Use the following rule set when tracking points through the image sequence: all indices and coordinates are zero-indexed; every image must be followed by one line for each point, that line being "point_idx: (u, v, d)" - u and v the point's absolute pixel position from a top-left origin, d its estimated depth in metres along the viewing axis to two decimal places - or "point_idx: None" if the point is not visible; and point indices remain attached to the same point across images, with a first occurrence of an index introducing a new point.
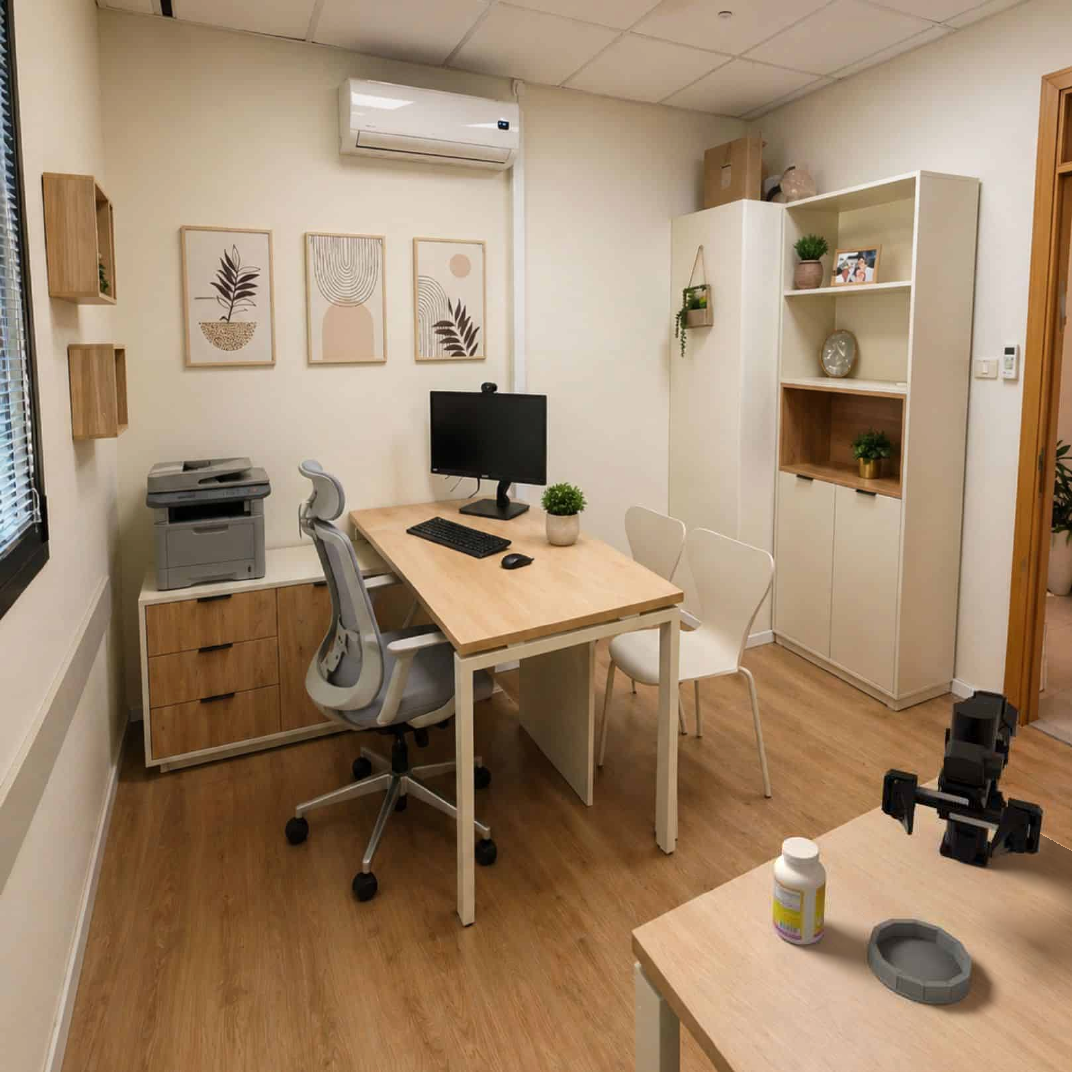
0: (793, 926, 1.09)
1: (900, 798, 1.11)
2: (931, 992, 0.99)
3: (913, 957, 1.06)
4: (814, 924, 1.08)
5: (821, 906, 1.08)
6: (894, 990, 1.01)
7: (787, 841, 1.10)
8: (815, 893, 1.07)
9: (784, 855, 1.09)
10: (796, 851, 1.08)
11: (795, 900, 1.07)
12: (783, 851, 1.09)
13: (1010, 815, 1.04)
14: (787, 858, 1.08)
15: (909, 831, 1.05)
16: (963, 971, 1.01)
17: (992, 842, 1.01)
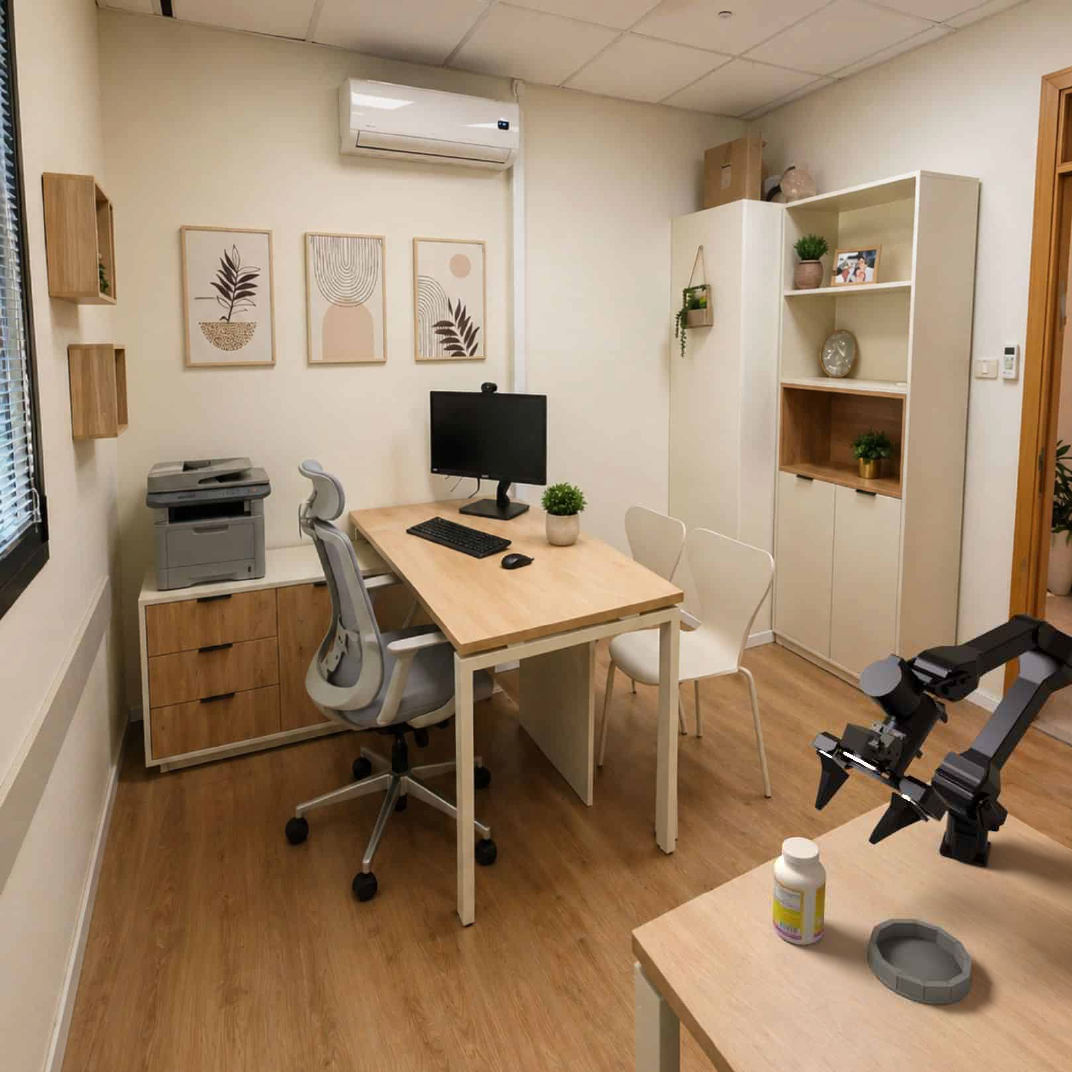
0: (793, 926, 1.09)
1: None
2: (931, 992, 0.99)
3: (913, 957, 1.06)
4: (814, 924, 1.08)
5: (821, 906, 1.08)
6: (894, 990, 1.01)
7: (787, 841, 1.10)
8: (815, 893, 1.07)
9: (784, 855, 1.09)
10: (796, 851, 1.08)
11: (795, 900, 1.07)
12: (783, 851, 1.09)
13: (896, 801, 1.07)
14: (787, 858, 1.08)
15: (817, 808, 1.16)
16: (963, 971, 1.01)
17: (874, 830, 1.08)
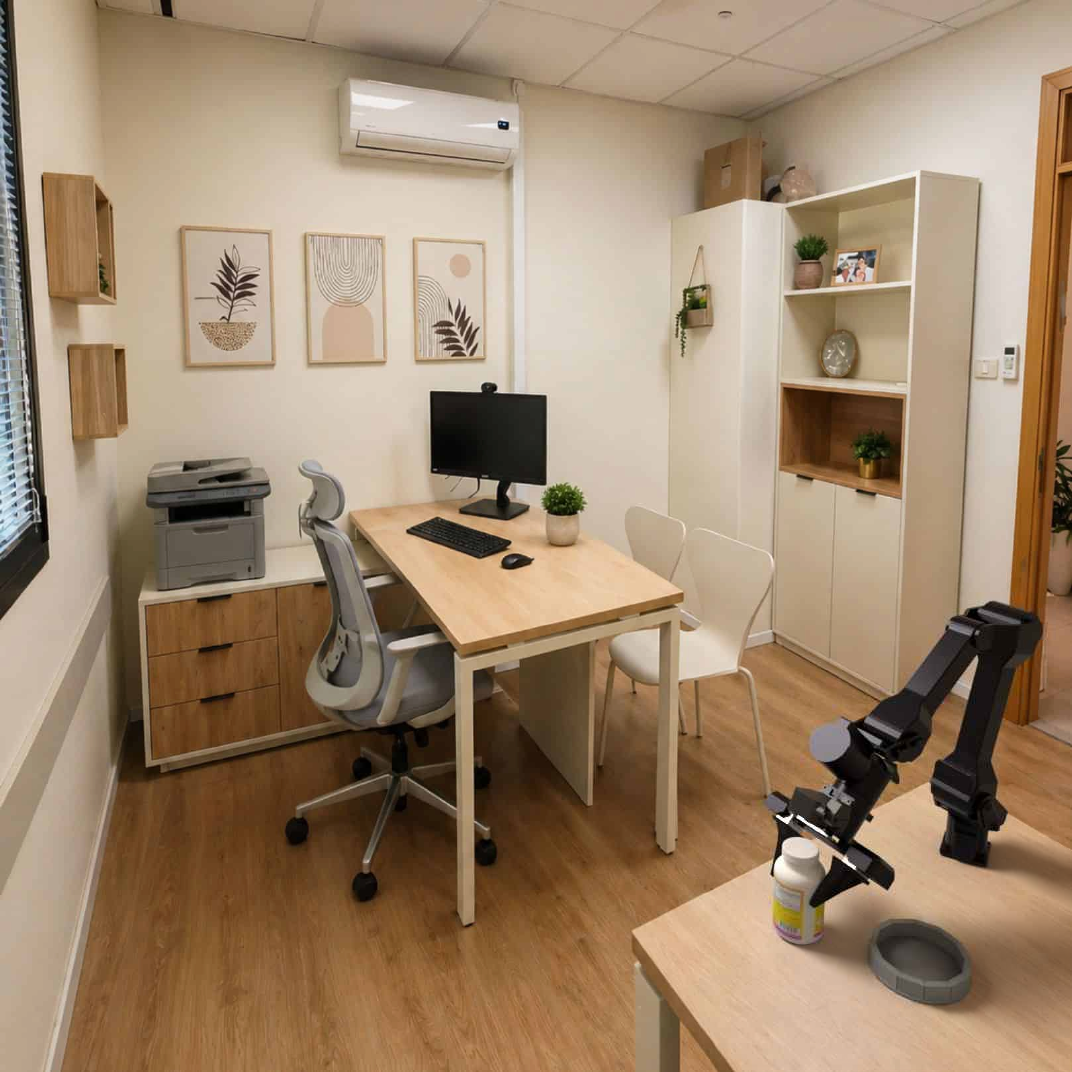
0: (793, 926, 1.09)
1: None
2: (931, 992, 0.99)
3: (913, 957, 1.06)
4: (814, 924, 1.08)
5: (821, 906, 1.08)
6: (894, 990, 1.01)
7: (787, 841, 1.10)
8: None
9: (784, 855, 1.09)
10: (796, 851, 1.08)
11: (795, 900, 1.07)
12: (783, 851, 1.09)
13: (836, 865, 1.05)
14: (787, 858, 1.08)
15: (772, 876, 1.13)
16: (963, 971, 1.01)
17: (814, 894, 1.07)
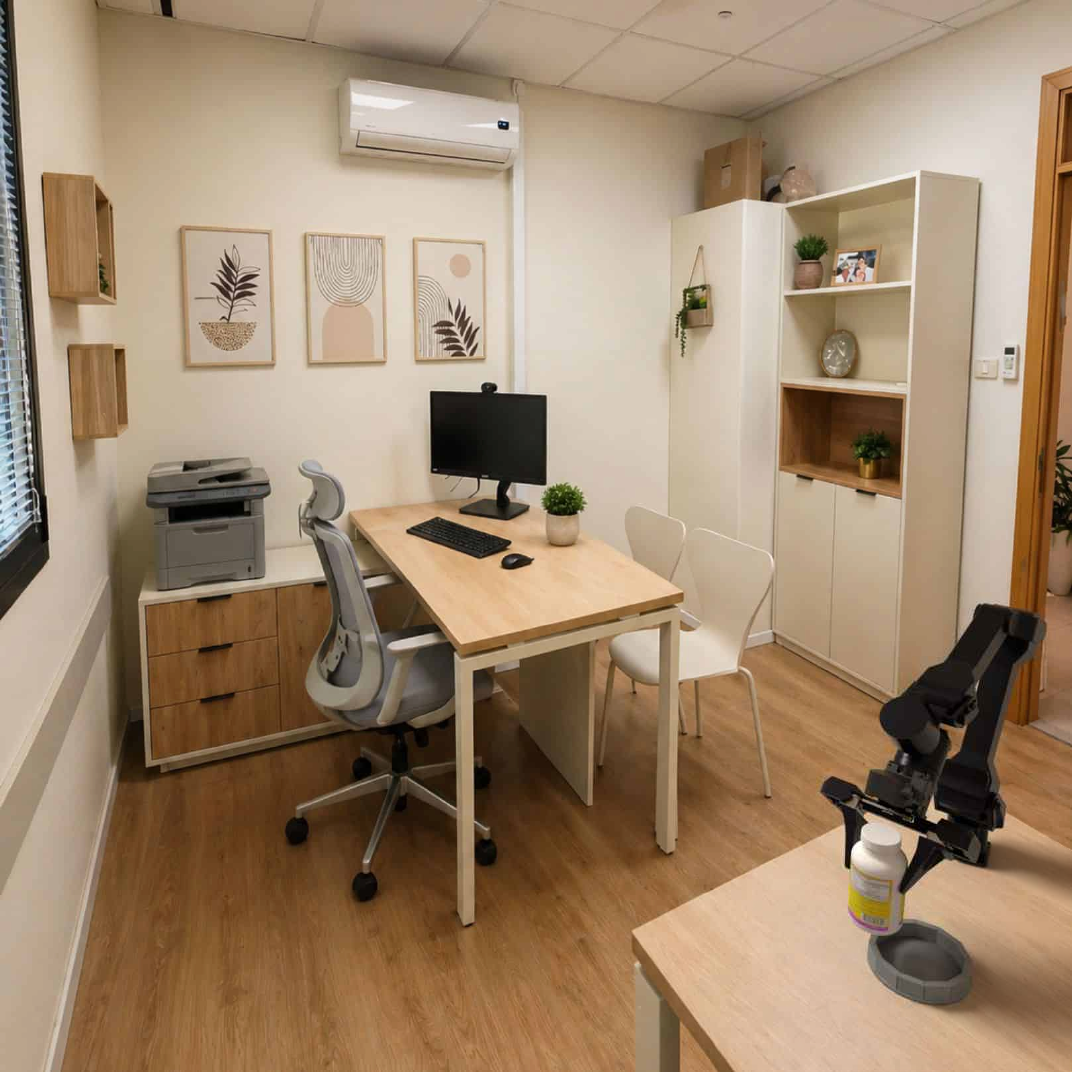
0: (880, 918, 1.02)
1: None
2: (931, 992, 0.99)
3: (913, 957, 1.06)
4: (900, 912, 1.02)
5: None
6: (894, 990, 1.01)
7: (865, 829, 1.03)
8: None
9: (867, 844, 1.01)
10: (879, 838, 1.01)
11: (883, 890, 1.01)
12: (865, 840, 1.02)
13: (925, 845, 1.00)
14: (872, 848, 1.01)
15: None
16: (963, 971, 1.01)
17: (903, 880, 1.00)
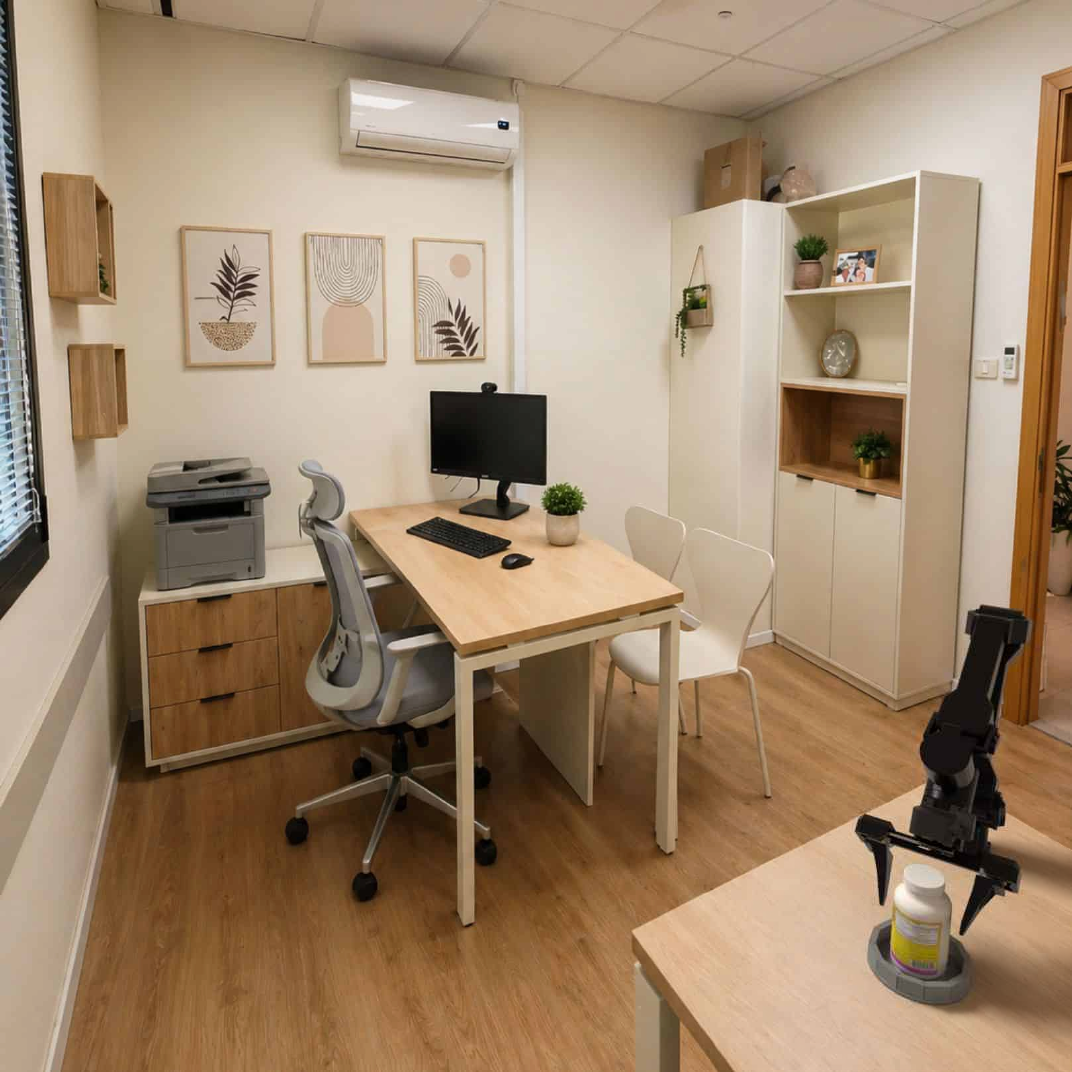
0: (930, 962, 1.01)
1: None
2: (931, 992, 0.99)
3: None
4: (946, 953, 1.02)
5: None
6: (894, 990, 1.01)
7: (907, 872, 1.02)
8: (949, 920, 1.01)
9: (914, 889, 1.01)
10: (924, 881, 1.01)
11: (933, 934, 1.00)
12: (911, 885, 1.01)
13: (982, 884, 0.99)
14: (919, 892, 1.00)
15: (881, 905, 1.04)
16: (963, 971, 1.01)
17: (962, 921, 0.99)
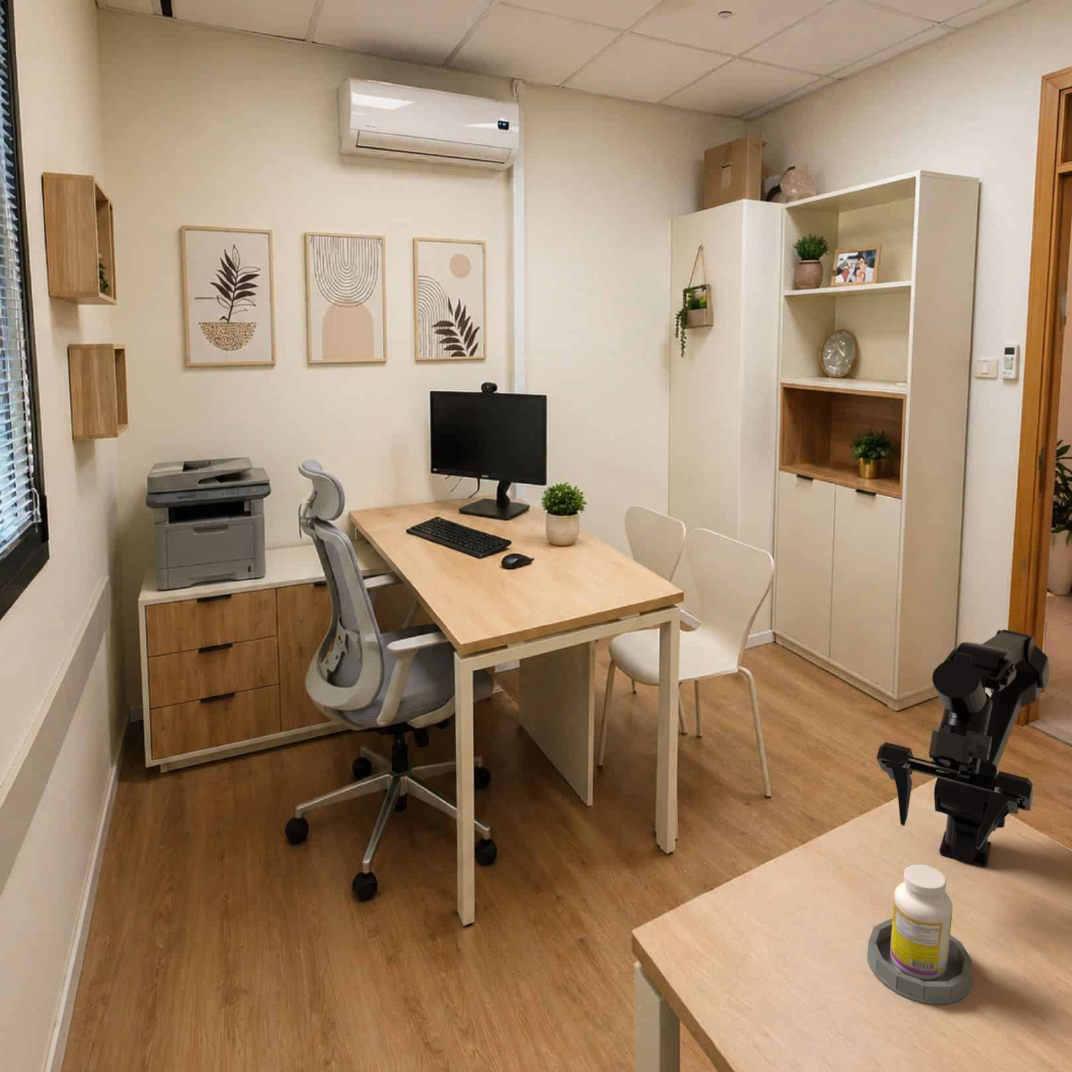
0: (930, 962, 1.01)
1: None
2: (931, 992, 0.99)
3: None
4: (947, 953, 1.02)
5: None
6: (894, 990, 1.01)
7: (908, 872, 1.02)
8: (950, 920, 1.01)
9: (914, 889, 1.00)
10: (925, 881, 1.01)
11: (933, 934, 1.00)
12: (912, 885, 1.01)
13: (998, 800, 1.06)
14: (920, 892, 1.00)
15: (902, 824, 1.12)
16: (963, 971, 1.01)
17: (979, 835, 1.06)
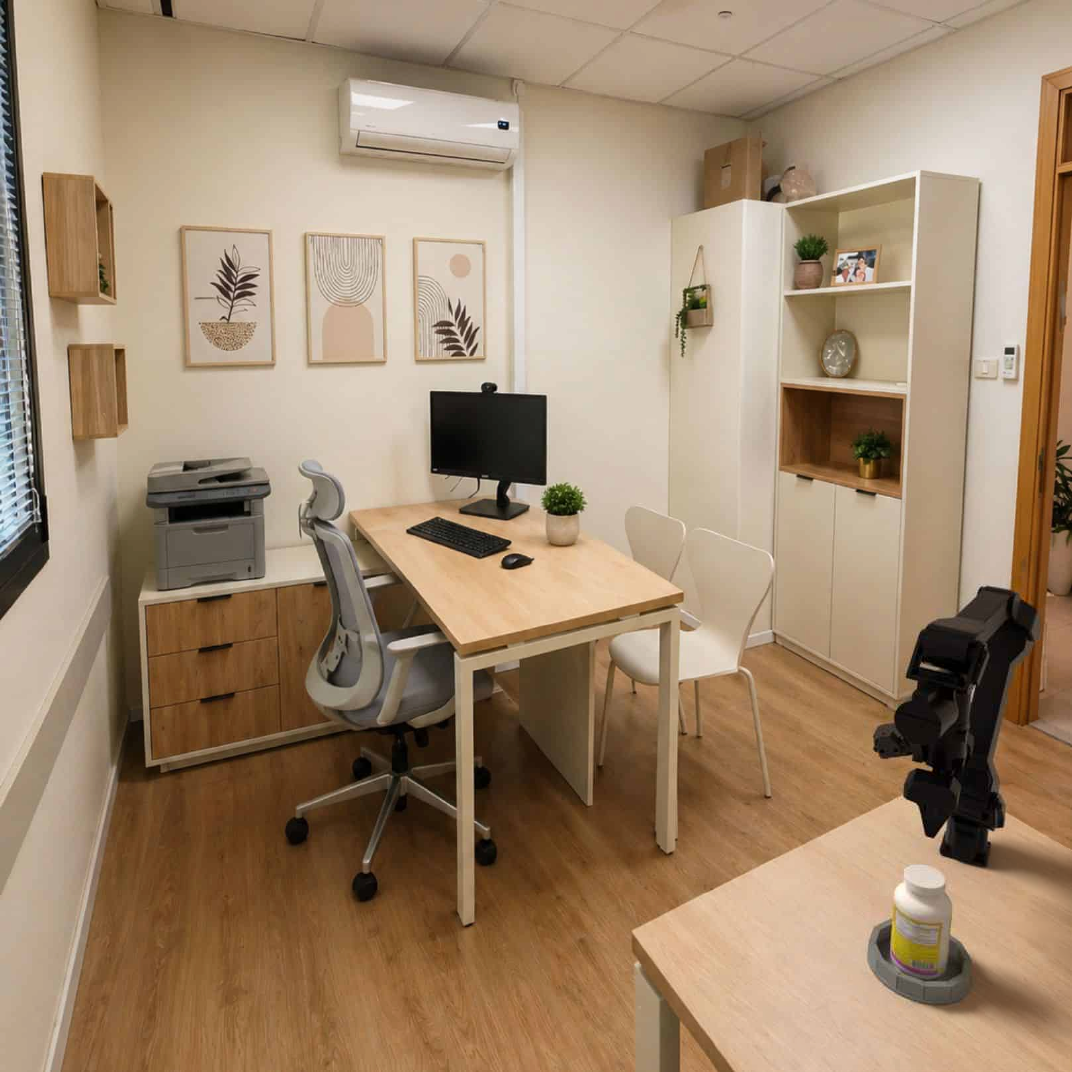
0: (930, 962, 1.01)
1: None
2: (931, 992, 0.99)
3: None
4: (946, 953, 1.02)
5: None
6: (894, 990, 1.01)
7: (907, 872, 1.02)
8: (950, 920, 1.01)
9: (914, 889, 1.00)
10: (925, 881, 1.01)
11: (933, 934, 1.00)
12: (912, 885, 1.01)
13: None
14: (920, 892, 1.00)
15: None
16: (963, 971, 1.01)
17: None
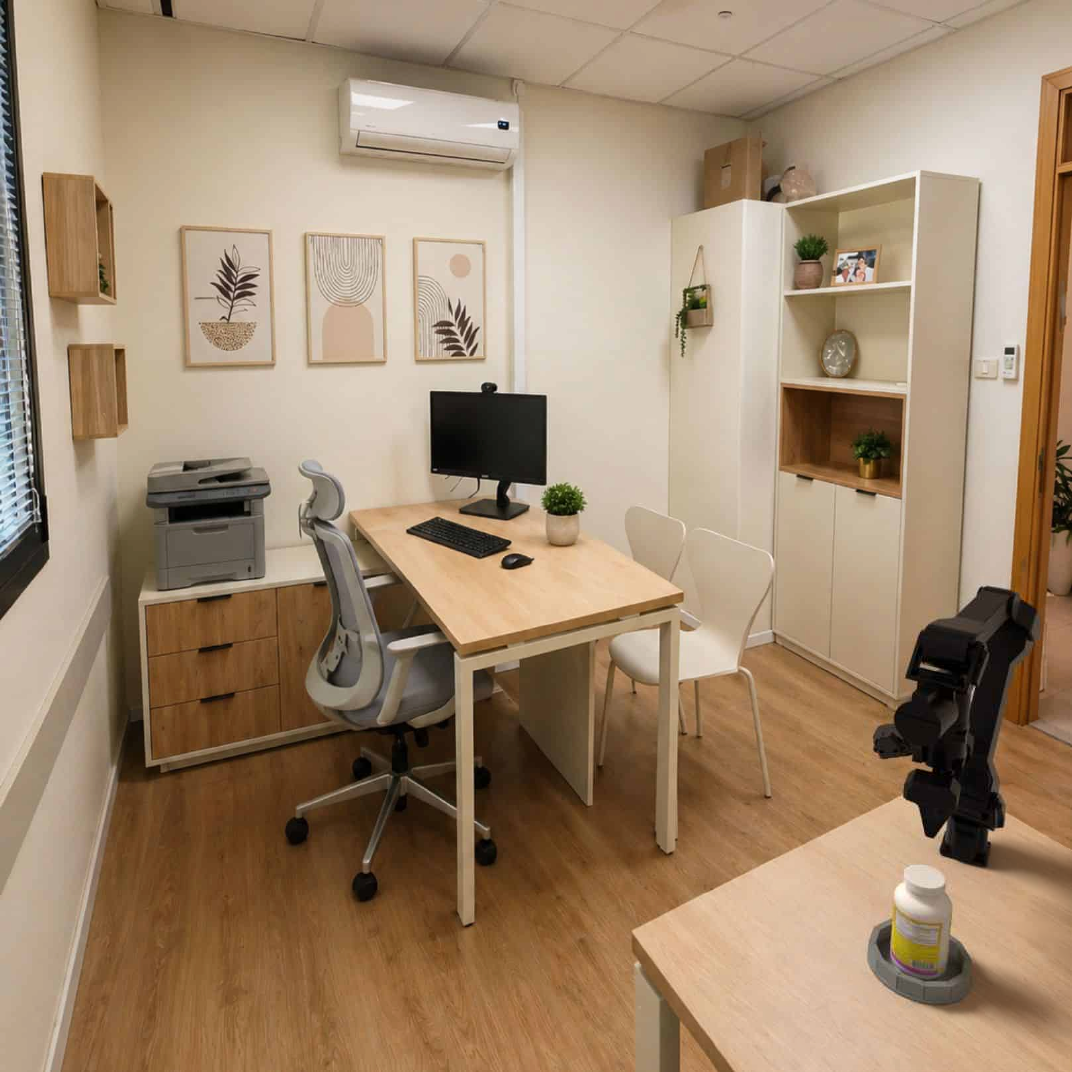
0: (930, 962, 1.01)
1: None
2: (931, 992, 0.99)
3: None
4: (947, 953, 1.02)
5: None
6: (894, 990, 1.01)
7: (907, 872, 1.02)
8: (950, 920, 1.01)
9: (914, 889, 1.00)
10: (925, 881, 1.01)
11: (933, 934, 1.00)
12: (912, 885, 1.01)
13: None
14: (920, 892, 1.00)
15: None
16: (963, 971, 1.01)
17: None
